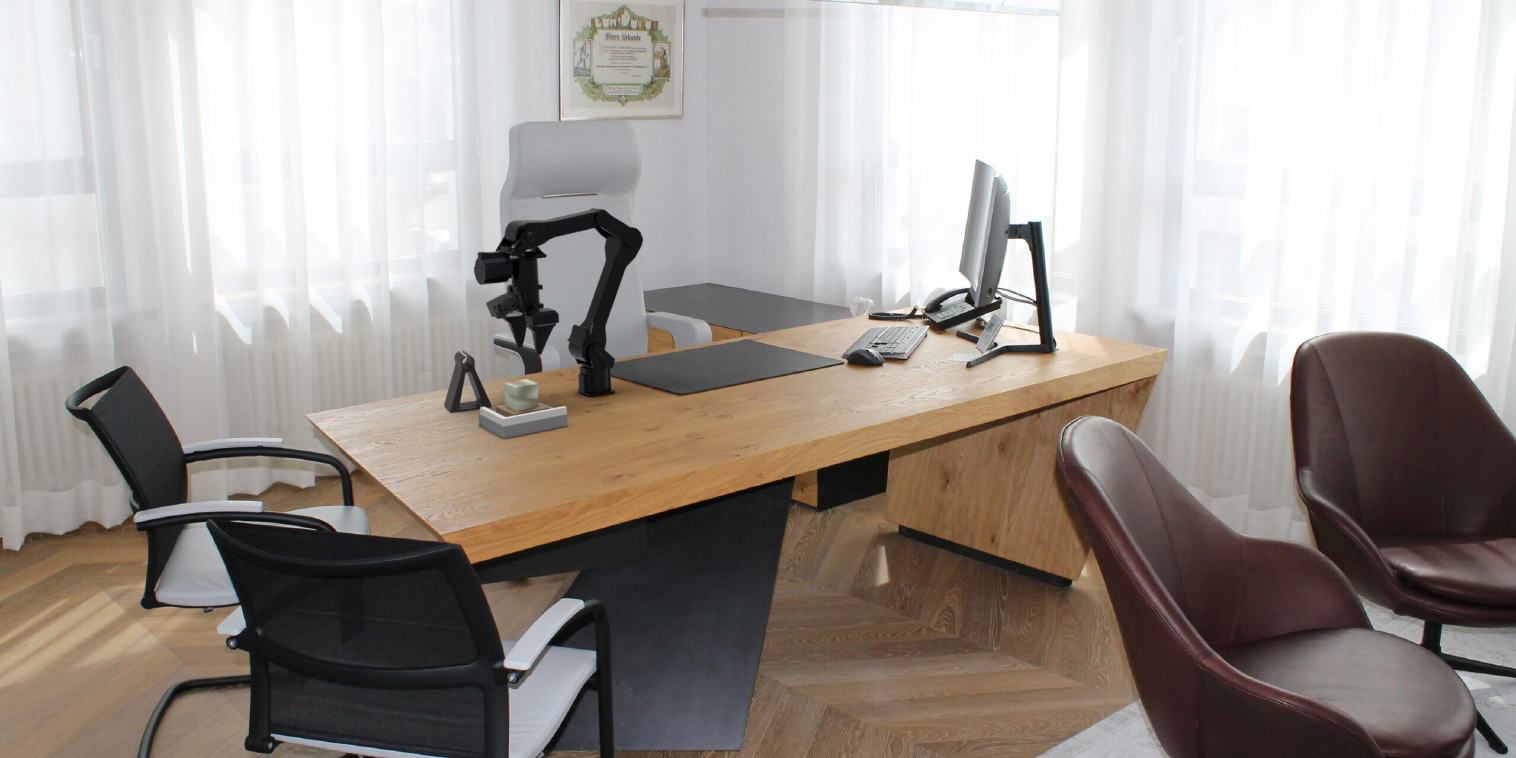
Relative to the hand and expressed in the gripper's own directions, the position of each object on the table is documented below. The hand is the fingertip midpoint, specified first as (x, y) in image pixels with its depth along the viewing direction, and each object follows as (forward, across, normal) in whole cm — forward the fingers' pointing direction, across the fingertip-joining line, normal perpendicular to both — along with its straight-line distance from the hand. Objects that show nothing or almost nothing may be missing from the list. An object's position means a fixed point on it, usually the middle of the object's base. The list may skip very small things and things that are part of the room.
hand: (529, 351), depth 238 cm
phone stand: (+12, -7, -12) cm, 19 cm away
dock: (+12, +14, -9) cm, 21 cm away
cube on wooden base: (+10, +14, -9) cm, 19 cm away
